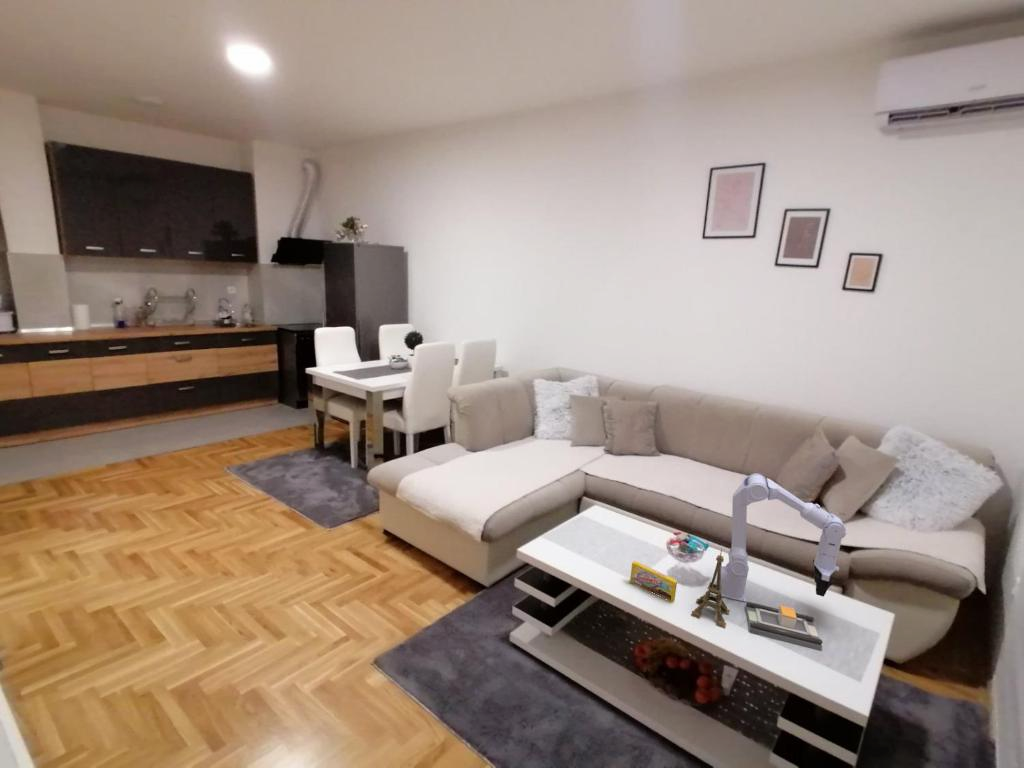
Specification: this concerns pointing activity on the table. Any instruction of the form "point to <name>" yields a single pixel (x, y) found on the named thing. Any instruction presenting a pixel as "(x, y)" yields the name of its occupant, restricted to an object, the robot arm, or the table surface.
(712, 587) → the eiffel tower
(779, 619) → the orange-faced white block
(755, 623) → the panel
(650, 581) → the candy box
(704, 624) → the table surface
